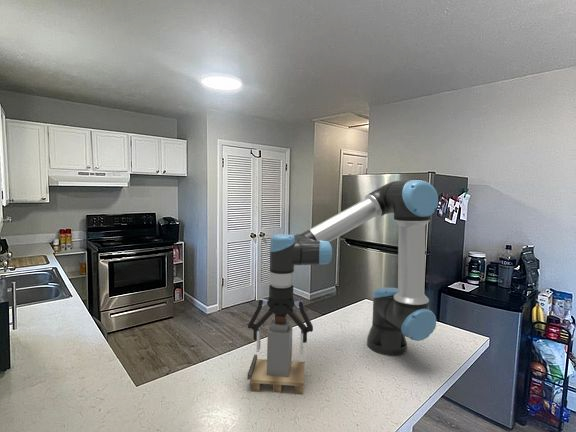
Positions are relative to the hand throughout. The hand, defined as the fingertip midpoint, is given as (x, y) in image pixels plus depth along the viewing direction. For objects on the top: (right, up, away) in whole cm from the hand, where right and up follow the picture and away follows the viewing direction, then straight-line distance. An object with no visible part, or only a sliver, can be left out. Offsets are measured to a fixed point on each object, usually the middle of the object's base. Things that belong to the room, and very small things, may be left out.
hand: (279, 351), depth 101 cm
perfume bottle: (0, -7, 0) cm, 7 cm away
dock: (0, -10, +1) cm, 10 cm away
